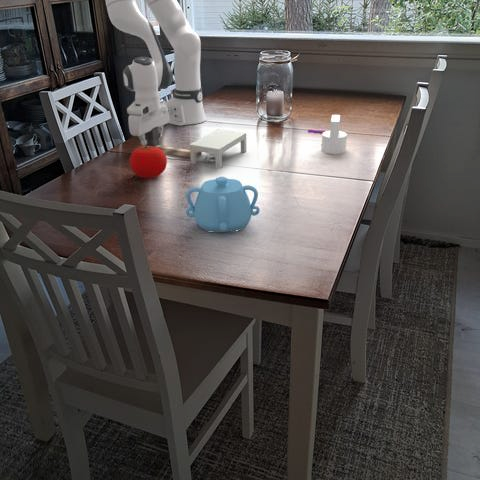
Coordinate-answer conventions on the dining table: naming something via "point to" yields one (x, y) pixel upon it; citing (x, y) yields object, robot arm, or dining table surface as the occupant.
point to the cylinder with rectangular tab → (334, 138)
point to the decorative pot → (222, 205)
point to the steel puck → (211, 159)
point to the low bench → (217, 144)
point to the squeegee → (316, 132)
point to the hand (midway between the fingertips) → (152, 140)
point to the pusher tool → (153, 141)
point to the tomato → (148, 161)
